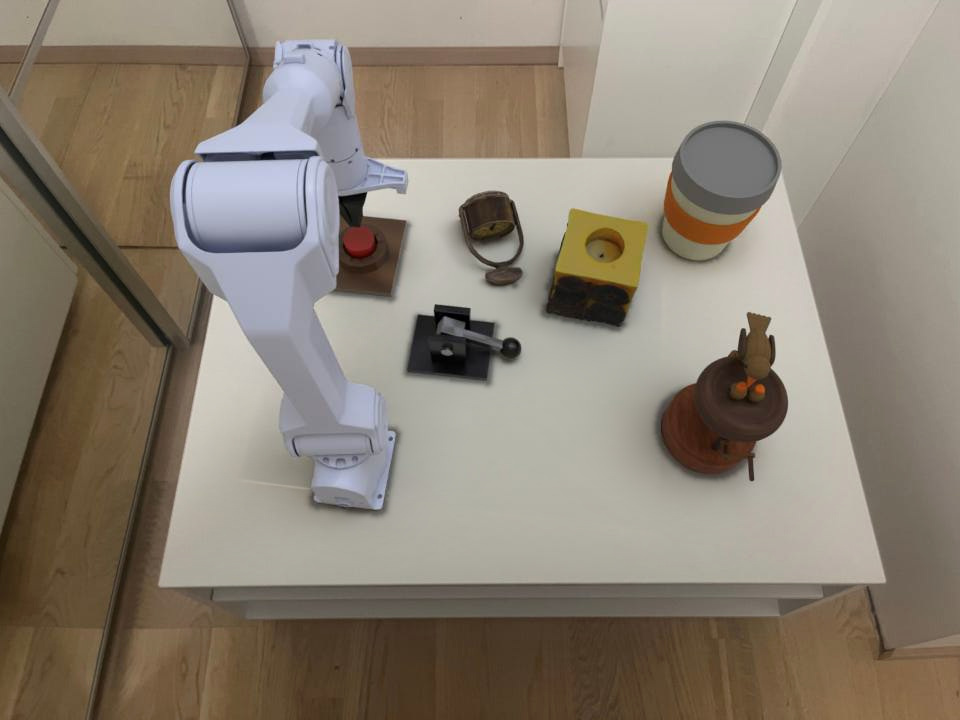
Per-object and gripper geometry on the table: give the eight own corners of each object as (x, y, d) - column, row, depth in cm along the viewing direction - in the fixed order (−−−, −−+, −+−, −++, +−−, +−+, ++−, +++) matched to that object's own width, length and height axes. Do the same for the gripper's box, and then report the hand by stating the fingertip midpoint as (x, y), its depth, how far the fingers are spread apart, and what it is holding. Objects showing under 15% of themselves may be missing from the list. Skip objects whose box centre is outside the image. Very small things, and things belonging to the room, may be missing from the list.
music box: (648, 381, 83) (711, 298, 65) (732, 381, 84) (818, 299, 66) (668, 502, 77) (744, 448, 59) (759, 500, 78) (862, 446, 60)
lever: (517, 345, 85) (526, 337, 83) (514, 365, 84) (524, 357, 82) (437, 322, 82) (444, 312, 80) (434, 342, 81) (441, 333, 79)
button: (372, 260, 88) (370, 252, 86) (343, 256, 88) (340, 249, 87) (378, 235, 90) (376, 227, 88) (349, 232, 90) (347, 224, 88)
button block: (391, 298, 89) (389, 286, 86) (318, 290, 89) (313, 278, 86) (407, 225, 94) (405, 211, 91) (337, 218, 94) (333, 204, 92)
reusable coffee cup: (651, 269, 90) (681, 197, 77) (646, 195, 96) (674, 116, 82) (744, 273, 90) (791, 202, 77) (734, 199, 95) (776, 120, 82)
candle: (544, 314, 87) (551, 272, 78) (559, 252, 92) (567, 205, 83) (621, 330, 86) (638, 290, 77) (632, 266, 91) (649, 221, 82)
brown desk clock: (539, 186, 90) (467, 169, 88) (533, 260, 83) (455, 242, 82) (524, 222, 96) (456, 205, 94) (518, 293, 89) (445, 277, 88)
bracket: (494, 326, 87) (495, 299, 81) (487, 382, 83) (487, 358, 77) (418, 317, 87) (413, 290, 81) (408, 373, 84) (402, 349, 78)
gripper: (407, 120, 73) (418, 201, 85) (278, 108, 73) (307, 189, 86) (396, 170, 70) (409, 246, 82) (261, 157, 70) (293, 234, 83)
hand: (356, 220), depth 84 cm, fingers closed
